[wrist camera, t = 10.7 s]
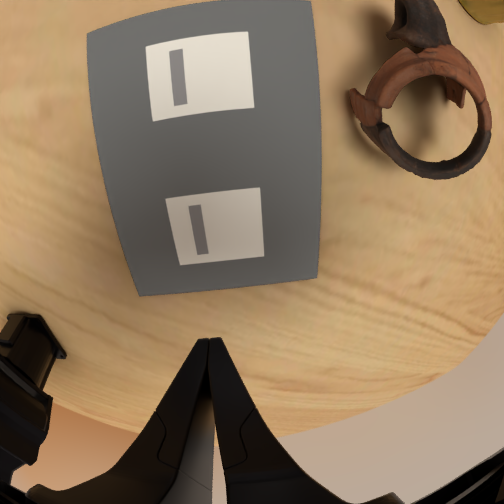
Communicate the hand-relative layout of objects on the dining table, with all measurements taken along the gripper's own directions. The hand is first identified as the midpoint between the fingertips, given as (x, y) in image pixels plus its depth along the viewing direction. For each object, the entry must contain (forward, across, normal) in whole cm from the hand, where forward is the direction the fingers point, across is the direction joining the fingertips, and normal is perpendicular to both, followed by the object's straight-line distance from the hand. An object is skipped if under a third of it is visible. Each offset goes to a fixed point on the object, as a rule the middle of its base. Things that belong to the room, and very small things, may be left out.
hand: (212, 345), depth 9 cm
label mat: (+10, 0, -5) cm, 11 cm away
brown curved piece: (+10, -13, -10) cm, 20 cm away
